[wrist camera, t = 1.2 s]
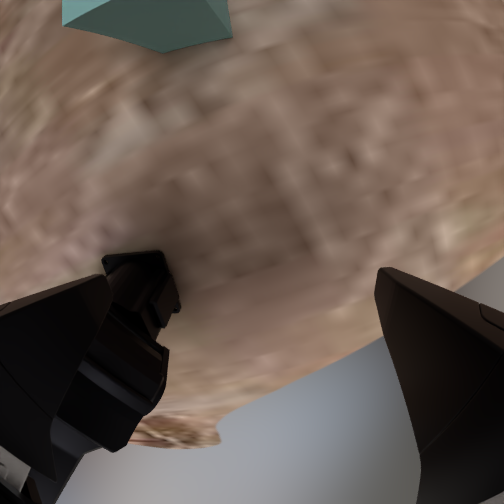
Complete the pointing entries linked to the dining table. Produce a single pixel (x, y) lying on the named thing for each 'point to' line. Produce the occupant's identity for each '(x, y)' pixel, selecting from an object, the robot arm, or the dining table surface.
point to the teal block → (151, 21)
